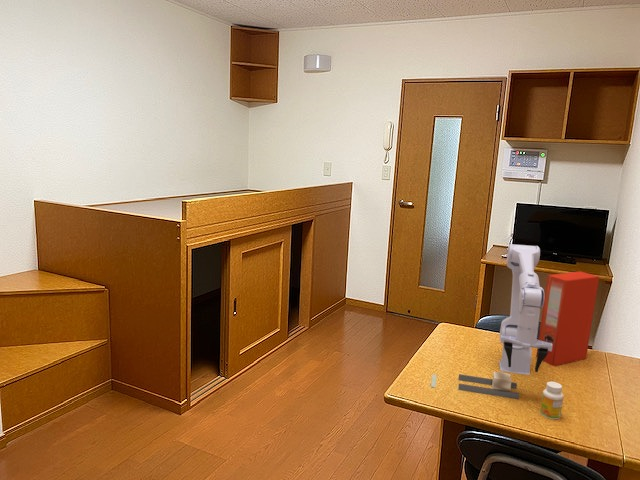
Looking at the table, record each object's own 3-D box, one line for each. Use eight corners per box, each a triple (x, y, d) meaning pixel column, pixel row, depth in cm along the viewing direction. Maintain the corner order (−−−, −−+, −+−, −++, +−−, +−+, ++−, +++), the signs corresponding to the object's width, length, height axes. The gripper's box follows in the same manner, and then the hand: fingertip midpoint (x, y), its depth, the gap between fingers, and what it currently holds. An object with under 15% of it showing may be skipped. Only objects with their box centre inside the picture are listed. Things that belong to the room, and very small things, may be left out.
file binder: (586, 359, 182) (599, 276, 176) (554, 366, 175) (566, 280, 169) (567, 350, 189) (579, 271, 183) (536, 357, 182) (546, 274, 176)
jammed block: (508, 388, 157) (509, 373, 156) (509, 395, 152) (511, 380, 151) (491, 385, 158) (493, 371, 157) (492, 392, 154) (494, 378, 153)
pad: (456, 378, 163) (456, 378, 163) (456, 391, 155) (456, 390, 155) (432, 374, 165) (432, 374, 165) (430, 387, 157) (430, 386, 157)
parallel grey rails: (515, 388, 158) (516, 382, 157) (518, 400, 150) (519, 394, 150) (458, 379, 162) (458, 374, 162) (458, 390, 155) (458, 384, 155)
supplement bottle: (536, 410, 145) (540, 380, 143) (553, 410, 145) (558, 380, 143) (546, 420, 140) (550, 389, 138) (564, 420, 140) (568, 389, 138)
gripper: (502, 326, 147) (497, 368, 150) (555, 334, 142) (549, 378, 144) (502, 319, 154) (498, 360, 156) (553, 327, 149) (547, 368, 151)
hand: (522, 368), depth 151 cm, fingers open, 7 cm apart
